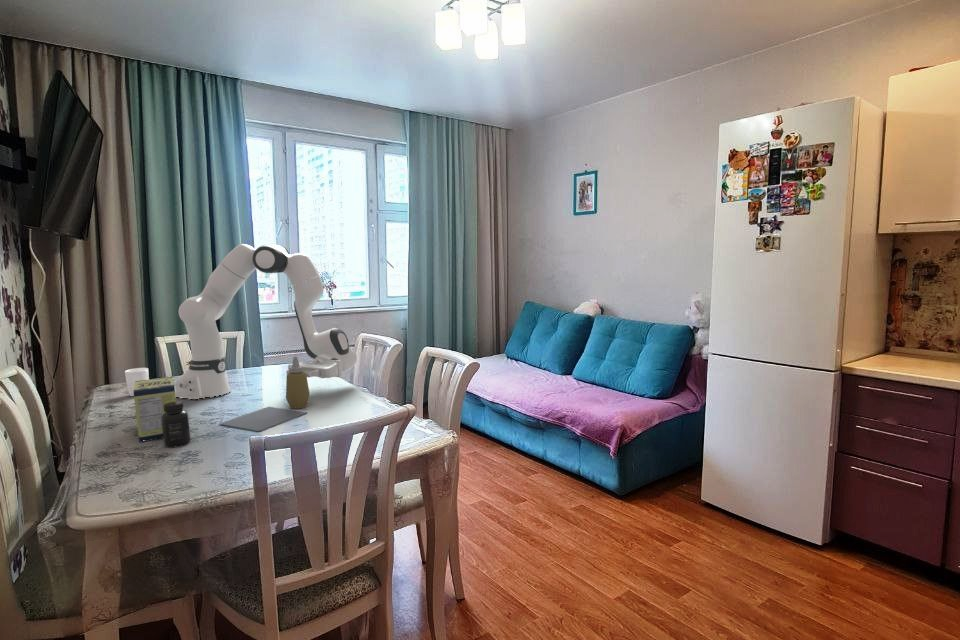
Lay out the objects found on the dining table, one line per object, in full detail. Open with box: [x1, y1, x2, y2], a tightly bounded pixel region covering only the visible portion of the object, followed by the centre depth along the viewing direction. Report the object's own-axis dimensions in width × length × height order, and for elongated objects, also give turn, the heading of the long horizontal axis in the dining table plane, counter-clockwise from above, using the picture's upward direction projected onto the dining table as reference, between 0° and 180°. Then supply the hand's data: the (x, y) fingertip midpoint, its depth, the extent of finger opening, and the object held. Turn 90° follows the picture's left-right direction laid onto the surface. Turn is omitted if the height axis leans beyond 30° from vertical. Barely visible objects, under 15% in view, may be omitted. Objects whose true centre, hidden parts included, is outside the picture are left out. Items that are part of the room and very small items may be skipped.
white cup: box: [124, 367, 150, 395], centre depth 208 cm, size 8×8×10 cm
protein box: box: [133, 376, 177, 442], centre depth 162 cm, size 10×16×16 cm
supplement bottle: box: [161, 400, 192, 448], centre depth 151 cm, size 7×7×12 cm
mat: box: [218, 406, 308, 433], centre depth 173 cm, size 20×18×1 cm
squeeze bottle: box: [285, 356, 311, 410], centre depth 185 cm, size 8×8×18 cm
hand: (297, 374), depth 191 cm, fingers open, 8 cm apart
